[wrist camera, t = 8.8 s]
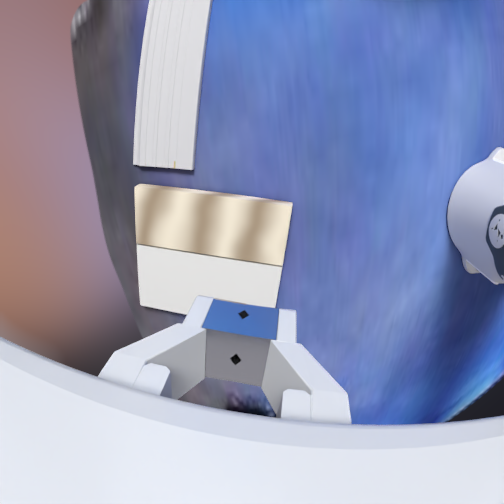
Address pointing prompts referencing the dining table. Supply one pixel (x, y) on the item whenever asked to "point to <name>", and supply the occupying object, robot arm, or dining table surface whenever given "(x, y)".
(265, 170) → the dining table surface
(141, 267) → the white board
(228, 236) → the birch plank
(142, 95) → the baseboard
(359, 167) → the dining table surface
